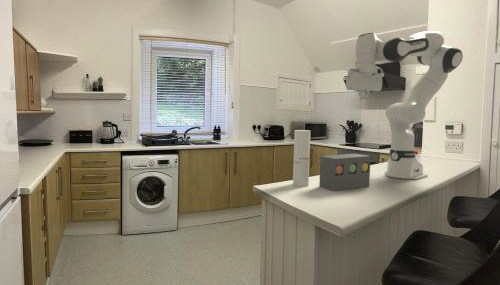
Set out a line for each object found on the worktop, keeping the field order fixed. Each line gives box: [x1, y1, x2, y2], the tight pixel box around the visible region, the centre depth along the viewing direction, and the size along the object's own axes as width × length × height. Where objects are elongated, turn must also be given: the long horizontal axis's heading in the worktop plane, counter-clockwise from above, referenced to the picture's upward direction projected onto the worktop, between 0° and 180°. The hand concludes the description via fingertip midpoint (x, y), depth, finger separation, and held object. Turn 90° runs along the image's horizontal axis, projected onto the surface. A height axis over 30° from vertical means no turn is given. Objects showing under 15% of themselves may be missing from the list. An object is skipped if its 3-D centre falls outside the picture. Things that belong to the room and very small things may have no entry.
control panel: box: [318, 153, 372, 192], centre depth 153 cm, size 22×9×14 cm, turn 120°
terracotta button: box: [336, 165, 343, 174], centre depth 146 cm, size 4×3×4 cm
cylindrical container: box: [292, 129, 311, 188], centre depth 154 cm, size 7×7×25 cm
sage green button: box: [349, 164, 356, 173], centre depth 150 cm, size 4×3×4 cm
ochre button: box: [362, 162, 368, 172], centre depth 154 cm, size 4×3×4 cm
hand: (363, 100), depth 155 cm, fingers closed
